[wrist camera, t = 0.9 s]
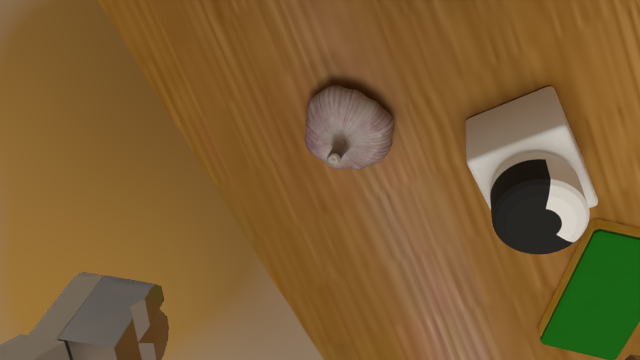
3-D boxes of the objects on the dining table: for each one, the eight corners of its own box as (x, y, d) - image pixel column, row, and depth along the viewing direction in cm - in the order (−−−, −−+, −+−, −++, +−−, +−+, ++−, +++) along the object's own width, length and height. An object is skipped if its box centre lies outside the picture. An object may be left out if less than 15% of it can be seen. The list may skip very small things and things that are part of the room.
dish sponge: (536, 325, 59) (539, 344, 57) (590, 214, 52) (596, 231, 50) (609, 343, 59) (615, 362, 57) (675, 233, 51) (684, 251, 49)
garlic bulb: (298, 84, 50) (275, 127, 43) (385, 67, 48) (374, 110, 41) (322, 162, 54) (304, 213, 47) (404, 149, 51) (397, 201, 45)
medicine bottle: (497, 186, 52) (508, 279, 42) (463, 118, 49) (466, 200, 39) (582, 157, 49) (616, 248, 39) (551, 83, 46) (579, 161, 36)
